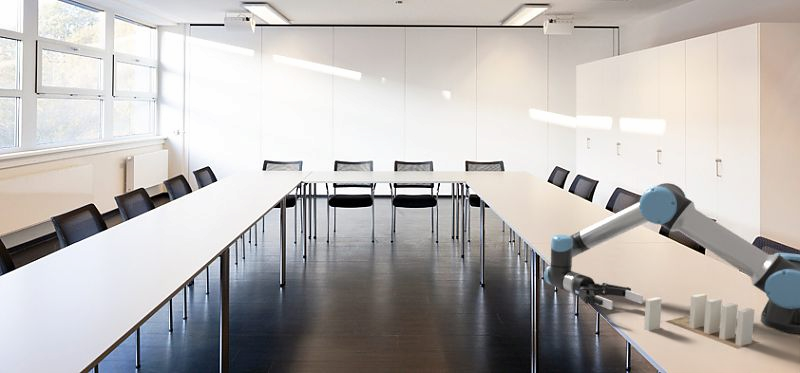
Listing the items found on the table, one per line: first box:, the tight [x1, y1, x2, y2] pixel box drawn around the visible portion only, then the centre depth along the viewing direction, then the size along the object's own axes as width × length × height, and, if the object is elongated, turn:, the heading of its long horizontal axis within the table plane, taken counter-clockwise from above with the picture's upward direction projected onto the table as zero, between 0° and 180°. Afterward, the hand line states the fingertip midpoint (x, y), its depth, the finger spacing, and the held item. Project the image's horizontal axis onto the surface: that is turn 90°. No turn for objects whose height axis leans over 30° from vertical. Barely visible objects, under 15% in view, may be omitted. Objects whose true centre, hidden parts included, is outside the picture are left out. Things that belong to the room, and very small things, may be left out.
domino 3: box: [704, 297, 723, 334], centre depth 177 cm, size 2×5×10 cm, turn 117°
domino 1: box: [643, 296, 663, 332], centre depth 180 cm, size 2×5×10 cm, turn 117°
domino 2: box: [689, 293, 708, 328], centre depth 181 cm, size 2×5×10 cm, turn 117°
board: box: [665, 316, 760, 350], centre depth 178 cm, size 10×24×1 cm, turn 27°
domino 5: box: [735, 307, 755, 346], centre depth 168 cm, size 2×5×10 cm, turn 117°
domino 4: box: [719, 302, 739, 340], centre depth 173 cm, size 2×5×10 cm, turn 117°
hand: (627, 302), depth 188 cm, fingers open, 13 cm apart
